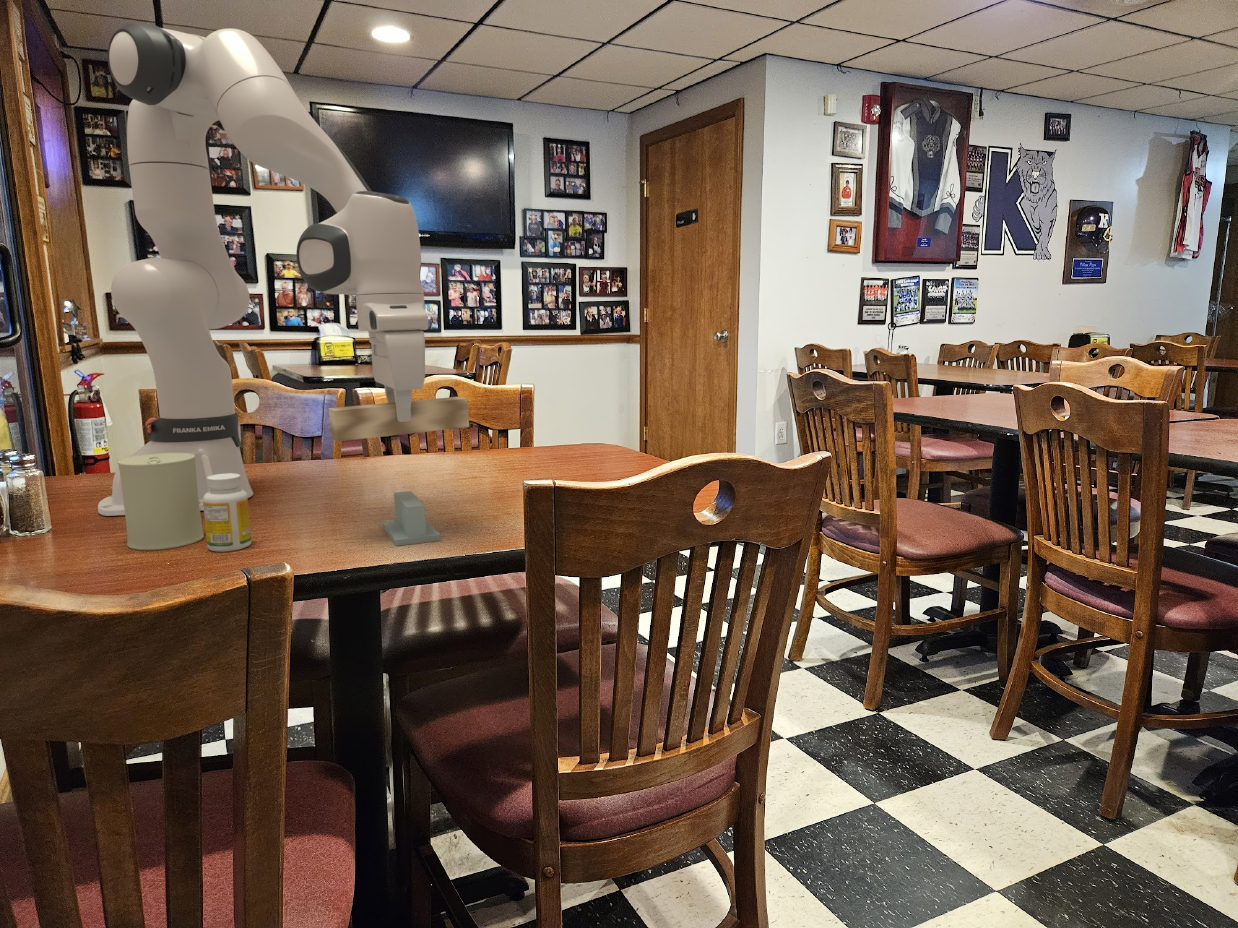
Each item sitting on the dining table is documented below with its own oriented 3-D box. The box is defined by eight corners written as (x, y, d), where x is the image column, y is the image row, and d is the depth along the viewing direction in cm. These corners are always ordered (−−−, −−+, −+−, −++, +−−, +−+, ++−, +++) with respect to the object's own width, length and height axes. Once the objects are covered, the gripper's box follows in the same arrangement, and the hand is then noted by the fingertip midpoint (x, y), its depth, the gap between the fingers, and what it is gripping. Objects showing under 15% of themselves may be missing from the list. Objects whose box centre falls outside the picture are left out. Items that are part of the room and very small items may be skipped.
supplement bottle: (215, 555, 104) (207, 482, 102) (202, 546, 108) (194, 476, 106) (258, 546, 108) (251, 476, 106) (244, 538, 111) (237, 470, 110)
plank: (337, 441, 105) (334, 410, 104) (331, 437, 109) (328, 408, 108) (469, 426, 114) (467, 398, 113) (459, 424, 117) (457, 396, 117)
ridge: (395, 545, 107) (393, 509, 106) (382, 526, 117) (380, 493, 116) (440, 540, 110) (438, 504, 109) (424, 522, 120) (422, 489, 119)
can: (122, 553, 105) (111, 463, 102) (132, 536, 113) (122, 452, 111) (201, 545, 108) (192, 457, 106) (206, 529, 117) (197, 447, 114)
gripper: (357, 318, 116) (366, 413, 119) (378, 316, 98) (388, 429, 101) (402, 317, 119) (409, 410, 121) (430, 315, 101) (438, 425, 103)
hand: (400, 419), depth 111 cm, fingers closed on plank, 4 cm apart
